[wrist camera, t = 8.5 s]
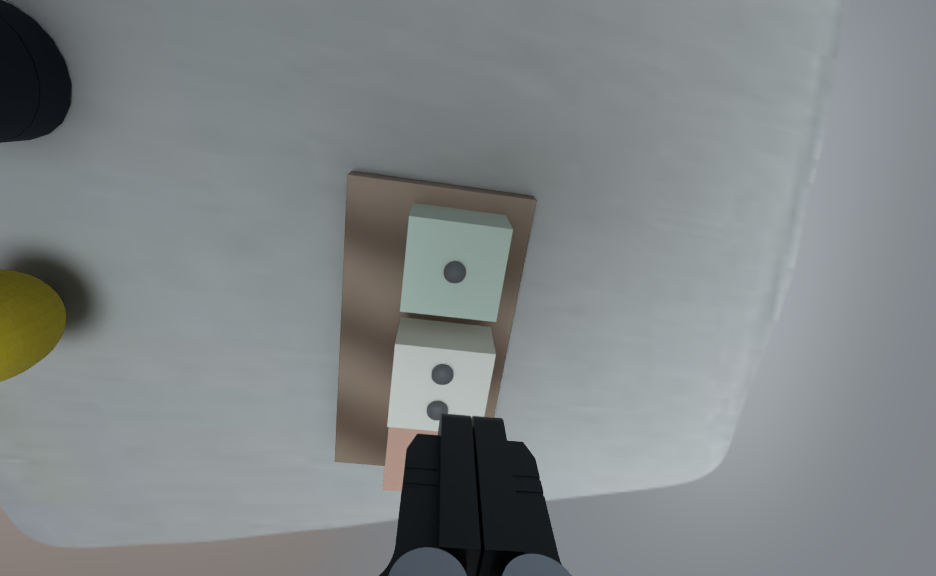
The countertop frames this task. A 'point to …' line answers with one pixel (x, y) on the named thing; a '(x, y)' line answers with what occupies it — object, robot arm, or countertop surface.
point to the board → (379, 297)
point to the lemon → (27, 322)
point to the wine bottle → (29, 78)
